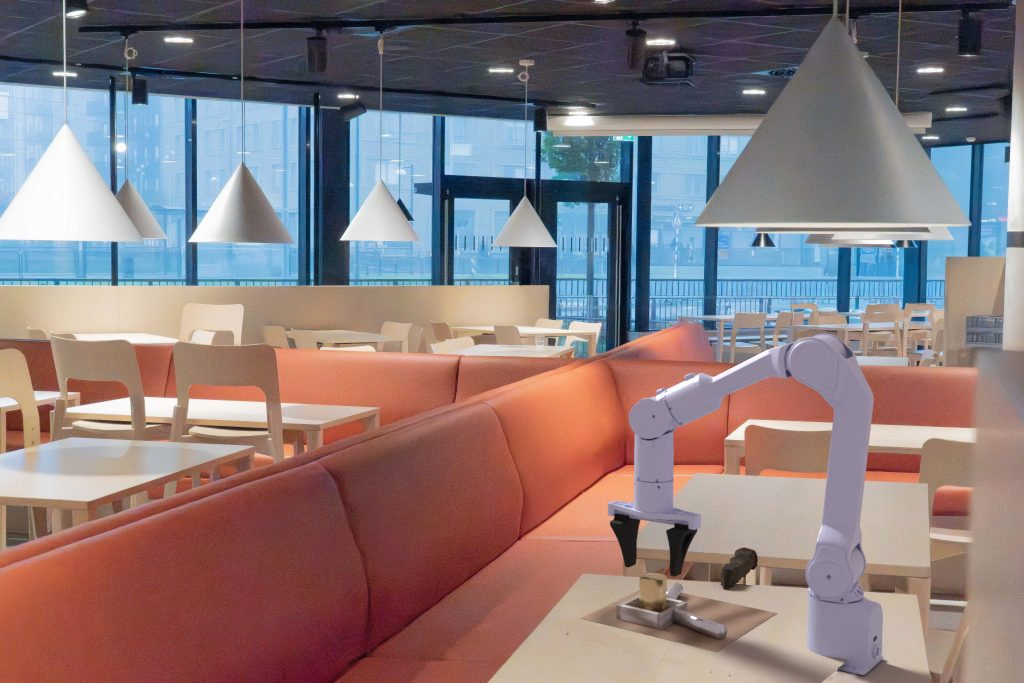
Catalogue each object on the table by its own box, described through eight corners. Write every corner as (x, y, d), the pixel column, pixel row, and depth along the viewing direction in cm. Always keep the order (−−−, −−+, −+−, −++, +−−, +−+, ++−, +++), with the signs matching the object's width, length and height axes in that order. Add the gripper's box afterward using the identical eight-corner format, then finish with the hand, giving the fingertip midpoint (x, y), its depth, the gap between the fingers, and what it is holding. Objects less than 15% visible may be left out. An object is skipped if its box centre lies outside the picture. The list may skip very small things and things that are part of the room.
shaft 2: (727, 637, 149) (727, 623, 149) (717, 641, 148) (717, 626, 148) (679, 620, 156) (679, 607, 156) (669, 623, 155) (670, 610, 155)
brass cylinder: (671, 616, 158) (672, 576, 158) (656, 623, 155) (657, 582, 155) (648, 610, 161) (649, 571, 160) (633, 616, 158) (634, 576, 157)
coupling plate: (777, 622, 160) (777, 599, 160) (716, 662, 144) (717, 637, 144) (648, 594, 173) (648, 573, 173) (580, 628, 157) (580, 604, 157)
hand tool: (735, 567, 190) (735, 541, 189) (757, 570, 188) (758, 544, 188) (707, 598, 173) (707, 570, 172) (731, 601, 171) (732, 572, 171)
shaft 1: (670, 594, 169) (670, 581, 168) (683, 595, 168) (683, 583, 168) (657, 609, 161) (658, 596, 161) (670, 611, 160) (671, 598, 160)
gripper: (711, 480, 155) (710, 572, 156) (625, 468, 164) (624, 556, 165) (688, 488, 150) (687, 583, 150) (600, 476, 158) (599, 566, 159)
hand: (652, 570), depth 157 cm, fingers open, 7 cm apart
